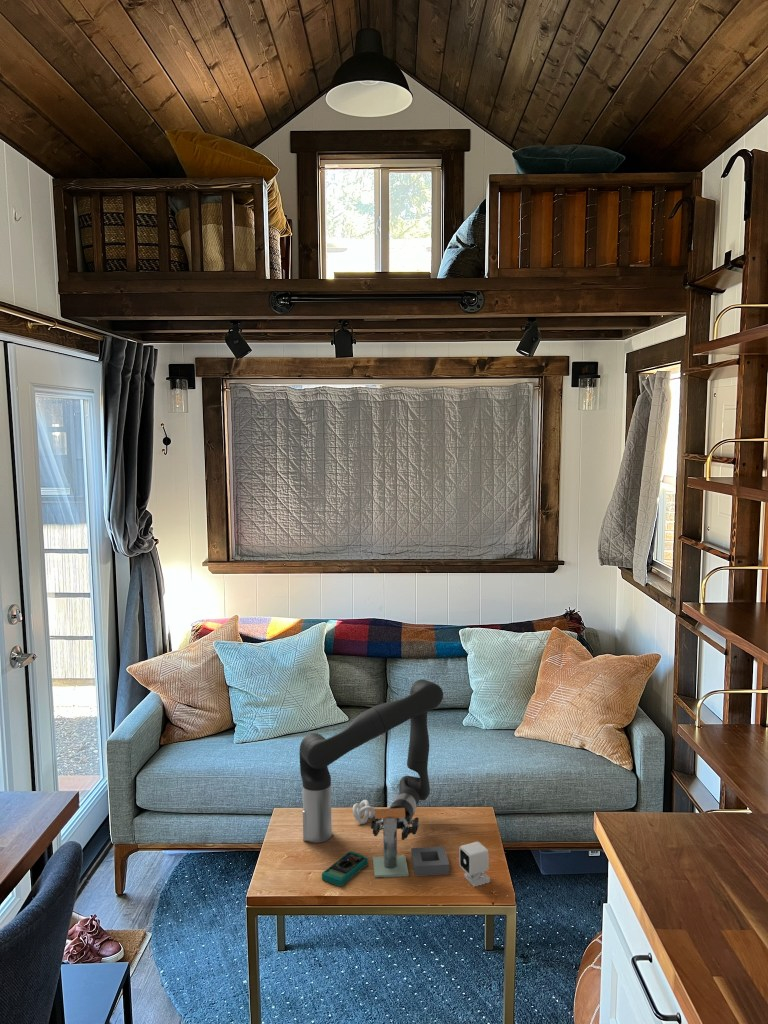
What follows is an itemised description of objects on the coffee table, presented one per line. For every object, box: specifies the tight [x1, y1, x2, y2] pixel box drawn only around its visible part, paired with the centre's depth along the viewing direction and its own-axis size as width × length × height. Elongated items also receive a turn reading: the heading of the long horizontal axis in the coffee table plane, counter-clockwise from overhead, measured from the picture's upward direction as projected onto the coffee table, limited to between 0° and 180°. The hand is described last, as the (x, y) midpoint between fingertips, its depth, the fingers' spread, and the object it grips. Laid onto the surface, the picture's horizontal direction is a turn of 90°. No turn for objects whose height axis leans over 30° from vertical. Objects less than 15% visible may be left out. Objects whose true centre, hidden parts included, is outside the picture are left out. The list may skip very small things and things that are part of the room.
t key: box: [374, 808, 405, 869], centre depth 225 cm, size 9×4×17 cm, turn 95°
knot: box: [352, 799, 376, 825], centre depth 254 cm, size 8×8×6 cm
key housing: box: [410, 846, 450, 877], centre depth 226 cm, size 10×10×3 cm
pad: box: [372, 855, 410, 879], centre depth 225 cm, size 10×10×1 cm
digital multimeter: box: [321, 851, 369, 887], centre depth 223 cm, size 7×15×3 cm, turn 148°
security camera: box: [458, 841, 491, 888], centre depth 218 cm, size 6×7×10 cm
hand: (388, 835), depth 223 cm, fingers open, 8 cm apart
